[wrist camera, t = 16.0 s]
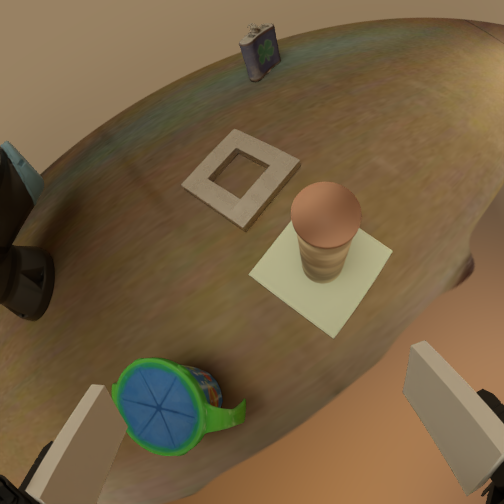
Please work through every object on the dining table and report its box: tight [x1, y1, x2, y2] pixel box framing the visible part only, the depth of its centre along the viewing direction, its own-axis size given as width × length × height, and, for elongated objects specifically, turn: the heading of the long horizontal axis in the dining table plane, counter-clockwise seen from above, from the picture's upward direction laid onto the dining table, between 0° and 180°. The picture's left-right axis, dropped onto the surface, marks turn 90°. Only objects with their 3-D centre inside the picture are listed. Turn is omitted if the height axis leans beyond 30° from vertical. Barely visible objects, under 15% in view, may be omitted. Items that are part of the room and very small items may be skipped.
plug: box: [291, 182, 362, 284], centre depth 27 cm, size 5×5×14 cm
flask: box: [239, 23, 281, 82], centre depth 43 cm, size 10×3×12 cm, turn 146°
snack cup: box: [112, 358, 246, 456], centre depth 27 cm, size 16×10×10 cm
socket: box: [181, 129, 300, 232], centre depth 40 cm, size 13×13×2 cm
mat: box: [249, 220, 393, 339], centre depth 34 cm, size 13×13×1 cm
